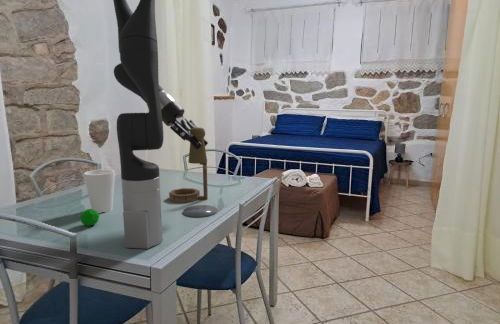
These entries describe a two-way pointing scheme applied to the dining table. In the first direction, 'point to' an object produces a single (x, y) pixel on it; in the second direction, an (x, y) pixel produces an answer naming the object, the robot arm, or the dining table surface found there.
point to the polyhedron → (89, 217)
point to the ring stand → (190, 191)
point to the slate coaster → (200, 211)
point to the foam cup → (100, 189)
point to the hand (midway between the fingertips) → (202, 146)
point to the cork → (199, 154)
